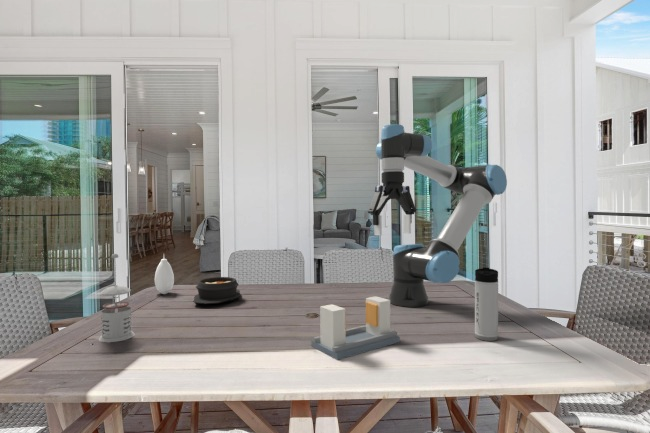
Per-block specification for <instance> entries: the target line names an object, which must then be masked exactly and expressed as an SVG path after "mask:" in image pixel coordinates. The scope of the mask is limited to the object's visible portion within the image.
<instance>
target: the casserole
mask: <svg viewBox="0 0 650 433" xmlns="http://www.w3.org/2000/svg"><path fill="white" fill-rule="evenodd" d="M237 281H238V280H237V279H236V278H234V277H229V276H215V277H207V278H203V279H200V280H198V282H197V285H195V288H196V289H197V292H198V294H196V295H194V297H193V301H192V302H193V303H195V304H203V305H212V304H213V305H214V304H223V303H227V302H230V301H232V300H234V299H235V300H236V299H237V298H239V297H240V296H241V295H242V294H241V290H240V289H237V288H238V286H239V282H237Z"/></svg>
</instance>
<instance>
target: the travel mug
mask: <svg viewBox="0 0 650 433" xmlns="http://www.w3.org/2000/svg"><path fill="white" fill-rule="evenodd" d="M474 272H475V273H474V337H475V338H476V339H477V340H481V341H485V342H494V341H497V340H498V339H499V270H498V269H497V270H496V269H493V268H490V267H488V266H487V267H483V266H482V268H477V269H475V271H474Z"/></svg>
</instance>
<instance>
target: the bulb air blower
mask: <svg viewBox="0 0 650 433" xmlns="http://www.w3.org/2000/svg"><path fill="white" fill-rule="evenodd" d="M162 255H163V258H162V259H160V262H159V264H158V265H157V266H156V270H155V274H154V285H155V288H156V291H158V293H159V292H160V294H162V295H166V294H167V295H168V293H170V292H171V291H172V290H173V287H174V283H175V275H174V270H173V268H172V266H171V263H170V262H168V259H167V258H165V253H163V254H162Z"/></svg>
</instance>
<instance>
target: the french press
mask: <svg viewBox="0 0 650 433" xmlns="http://www.w3.org/2000/svg"><path fill="white" fill-rule="evenodd" d="M110 258H111V259H114V263H116V259H118V258H119V254H117V253H112V254H111V257H110ZM116 266H117V265H114V285H113V286H108V287H106V288H104V290H102V291H100V295H102V296H105V297H108V296H110V297H111V296H112V302H108V303H105V304H103V305H102V308H103V309H102V310H100V316H101V318H100V320H101V323H100V324H101V335H100V337H99V338H98V341H99V342H102V343H114V342H115V343H118V342H120V341H126V340H128V339H131V338H133V337H134V336H135V335H136V334H135V332H134V331H133V330H132V308H131V307H130V306H129V305H130V302H128V301H121V300H120V299H121V298H120V296H122V295H125V294H129V293H131V288H129V287H127V286H124V285H117V278H116V276H117V275H116V274H117V272H116V270H117V269H116ZM117 299H118V301H117ZM116 310H117V312H116Z"/></svg>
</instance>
